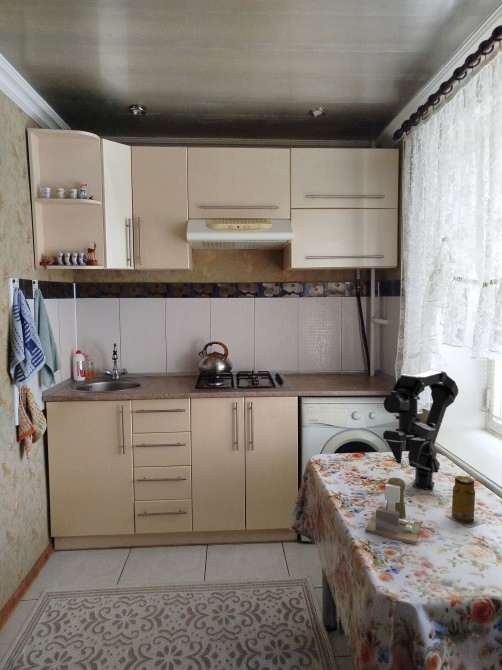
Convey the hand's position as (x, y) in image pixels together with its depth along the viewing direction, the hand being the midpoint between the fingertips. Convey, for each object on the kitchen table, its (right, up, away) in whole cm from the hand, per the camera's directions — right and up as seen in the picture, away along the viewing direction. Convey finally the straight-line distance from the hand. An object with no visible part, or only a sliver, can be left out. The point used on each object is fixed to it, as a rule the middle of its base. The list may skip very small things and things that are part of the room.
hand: (407, 462), depth 145 cm
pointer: (-6, -14, -18) cm, 23 cm away
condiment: (+14, -14, -10) cm, 22 cm away
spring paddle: (-7, -13, -13) cm, 20 cm away
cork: (-6, -14, -7) cm, 17 cm away
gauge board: (-9, -15, -16) cm, 23 cm away
